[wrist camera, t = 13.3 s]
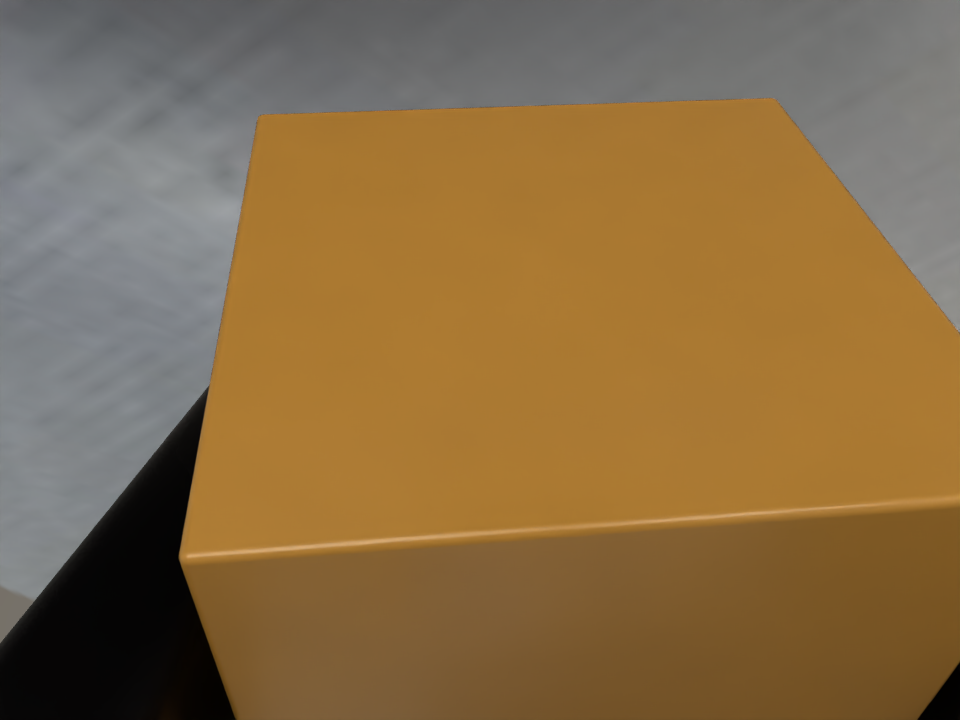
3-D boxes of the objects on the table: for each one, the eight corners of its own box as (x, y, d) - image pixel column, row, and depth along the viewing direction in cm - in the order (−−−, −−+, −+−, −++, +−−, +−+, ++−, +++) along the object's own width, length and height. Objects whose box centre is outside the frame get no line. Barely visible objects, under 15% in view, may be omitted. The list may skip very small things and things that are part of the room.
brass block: (776, 94, 8) (1090, 492, 4) (688, 444, 11) (837, 836, 7) (256, 112, 7) (172, 560, 4) (314, 468, 10) (295, 896, 7)
